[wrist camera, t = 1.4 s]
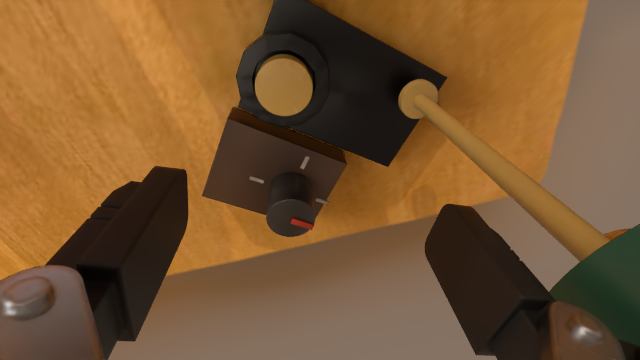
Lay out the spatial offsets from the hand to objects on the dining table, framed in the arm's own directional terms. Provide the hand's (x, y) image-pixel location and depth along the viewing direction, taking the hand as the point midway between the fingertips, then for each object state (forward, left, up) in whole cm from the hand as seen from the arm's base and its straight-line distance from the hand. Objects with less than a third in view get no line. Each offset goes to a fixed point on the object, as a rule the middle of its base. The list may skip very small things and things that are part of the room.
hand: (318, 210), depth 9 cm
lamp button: (-1, -1, -18) cm, 18 cm away
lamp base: (+4, 0, -21) cm, 22 cm away
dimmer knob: (+4, -11, -18) cm, 22 cm away
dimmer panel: (+2, -11, -21) cm, 24 cm away
